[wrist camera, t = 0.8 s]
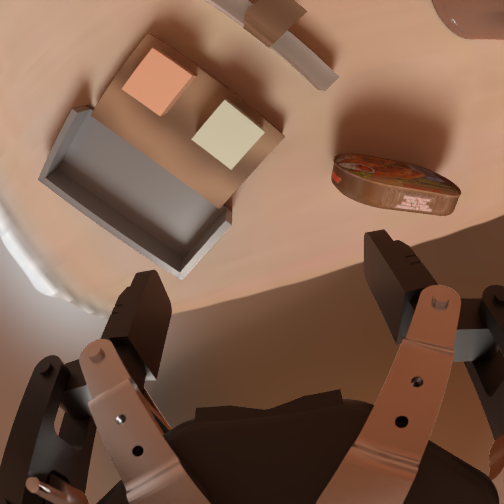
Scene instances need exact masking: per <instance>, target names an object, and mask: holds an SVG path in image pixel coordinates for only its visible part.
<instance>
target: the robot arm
mask: <svg viewBox="0 0 504 504" xmlns="http://www.w3.org/2000/svg"><path fill="white" fill-rule="evenodd" d="M432 1H433V4H434V7H435V9H436V11H437V13H438V15H439V17H440V18H441V20H442V21H443V22H444V23H445V25H446V26H447V27H448V28H449V29H450V30H451V31H453V32H454V33H455V34H457V35H458V36H460V37H463V38H466V39H496V40H504V0H432ZM364 272H365V278H366V281H367V283H368V285H369V287H370V289H371V292H372V294H373V296H374V298H375V300H376V302H377V304H378V306H379V308H380V310H381V312H382V314H383V317H384V319H385V321H386V323H387V325H388V327H389V330H390V332H391V334H392V336H393V339H394V341H395V343H396V344H400V343H401V345H400V348H399V350H398V353H397V355H396V358H395V360H394V363H393V365H392V367H391V370H390V372H389V374H388V377H387V379H386V381H385V384H384V386H383V388H382V390H381V392H380V394H379V397H378V399H377V401H376V403H375V405H373V404H370V403H366V402H363V401H359V400H352V399H342V395H341V392H340V389H339V390H334V391H329V392H324V393H318V394H313V395H308V396H303V397H301V398H298V399H295V400H293V401H291V402H288V403H285V404H282V405H280V406H277V407H274V408H271V409H267V410H262V409H252V408H245V407H237V406H219V407H204V408H196V413H195V418H193V419H191V420H188V421H186V422H183V423H181V424H179V425H177V426H176V427H174V428H173V429H172V428H171V427H170V426H169V424H168V423H167V422H166V420H165V419H164V417H163V415H162V414H161V412H160V411H159V410H158V408H157V406H156V405H155V403H154V402H153V400H152V399H151V397H150V395H149V394H148V392H147V391H146V389H145V388H144V383H145V380H157V376H158V371H159V366H160V361H161V357H162V353H163V348H164V344H165V340H166V335H167V331H168V327H169V323H170V318H171V314H172V308H171V303H170V300H169V297H168V295H167V293H166V291H165V288H164V286H163V284H162V282H161V279H160V277H159V275H158V273H157V271H156V270H150V271H144V272H139V273H136V275H135V277H134V279H133V281H132V283H131V286H130V287H127V288H126V289H125V290H124V291H123V292H122V293H121V294H120V296H119V297H118V300H117V302H116V304H115V307H114V308H113V311H112V315H110V318H109V320H108V322H107V325H106V327H105V329H104V332H103V334H102V337H101V339H99V340H96V341H93V342H91V343H90V344H88V345H87V346H86V347H85V349H84V350H83V351H82V352H81V354H80V358H79V359H78V360H75V361H72V362H69V363H66V364H64V363H63V362H62V361H61V359H60V358H59V357H57V356H55V355H52V356H48V357H45V358H44V359H42V360H41V361H40V362H39V363H38V364H37V365H36V367H35V369H34V371H33V374H32V376H31V378H30V381H29V383H28V386H27V388H26V390H25V393H24V396H23V399H22V401H21V404H20V406H19V409H18V412H17V415H16V417H15V420H14V423H13V426H12V429H11V432H10V435H9V439H8V442H7V445H6V448H5V452H4V455H3V459H2V462H1V466H0V504H89V502H88V499H87V497H86V495H85V490H86V483H87V476H88V470H89V465H90V459H91V454H92V448H93V443H94V438H95V433H96V429H98V431H99V434H100V436H101V438H102V440H103V443H104V445H105V447H106V449H107V451H108V454H109V456H110V458H111V460H112V462H113V464H114V466H115V468H116V470H117V472H118V474H119V476H120V478H121V480H120V481H119V482H118V483H117V484H116V485H115V486H114V487H113V488H112V489H111V490H110V491H109V492H108V493H107V494H106V495H105V496H104V497H103V498H102V499H101V500H100V501H99V502H98V503H97V504H504V356H503V355H504V287H503V286H500V285H492V286H489V287H487V288H486V289H485V290H484V292H483V295H482V298H481V299H462V298H460V297H459V295H458V294H457V292H455V291H454V290H453V289H451V288H449V287H447V286H443V285H438V284H437V282H436V281H435V280H434V278H433V277H432V276H431V274H430V273H429V271H428V270H427V269H426V267H425V266H424V265H423V263H421V261H420V259H419V258H418V257H417V256H416V255H415V253H414V252H413V250H412V249H411V248H410V246H408V245H406V244H405V243H403V242H401V241H400V240H396V241H393V240H392V239H391V237H390V236H389V235H388V233H387V232H386V231H385V230H378V231H372V232H367V233H365V235H364ZM499 348H500V349H499ZM500 350H501V351H500ZM501 352H502V353H501ZM461 361H462V362H464V364H465V366H466V368H467V370H468V373H469V375H470V377H471V380H472V382H473V384H474V387H475V389H476V391H477V394H478V396H479V399H480V401H481V404H482V406H483V409H484V412H485V414H486V417H487V420H488V422H489V425H490V428H491V431H492V434H493V437H494V440H495V442H494V443H493V444H492V446H491V449H490V452H489V468H490V470H489V475H488V476H487V475H486V474H484V473H483V472H481V471H480V470H478V469H476V468H474V467H472V466H471V465H469V464H468V463H466V462H464V461H463V460H461V459H459V458H458V457H456V456H454V455H453V454H451V453H449V452H448V451H446V450H444V449H443V448H441V447H440V446H438V445H436V444H435V443H433V442H432V441H430V440H429V438H430V435H431V432H432V430H433V427H434V424H435V421H436V418H437V415H438V412H439V409H440V405H441V402H442V399H443V396H444V392H445V389H446V385H447V381H448V377H449V374H450V369H451V366H452V362H461ZM59 407H61V408H62V409H63V410H64V411H65V414H64V417H63V421H62V424H61V428H60V432H59V436H58V435H57V434H56V432H55V429H54V421H55V418H56V414H57V411H58V408H59Z"/></svg>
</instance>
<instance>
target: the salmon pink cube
mask: <svg viewBox="0 0 504 504" xmlns="http://www.w3.org/2000/svg"><path fill="white" fill-rule="evenodd" d="M196 77H197V76H196V75H195V74H193V73H192V72H190V71H189V70H188V69H186V68H185V67H183V66H182V65H181V64H179V63H178V62H176V61H175V60H173V59H172V58H171V57H169V56H168V55H166V54H165V53H163V52H162V51H160V50H157V49H154V48H152V49H151V50H150V51H149V53H148V54H147V55H146V56H145V58H144V59H143V60H142V62H141V63H140V64H139V66H138V67H137V68H136V70H135V71H134V72H133V74H132V75H131V76H130V78H129V79H128V81H127V82H126V83H125V85H124V86H123V88H122V90H124V91H125V92H126V93H128V94H129V95H131V96H132V97H134V98H135V99H136V100H138V101H139V102H141V103H142V104H143V105H145V106H146V107H148V108H149V109H150V110H152V111H153V112H155V113H156V114H157V115H159V116H162V115H164V114H166V113H168V111H169V110H170V109H171V108H172V106H173V105H174V104H175V102H176V101H177V100H178V99H179V97H180V96H181V95H182V94H183V92H184V91H185V90H186V89H187V88H188V86H189V85H190V84H191V83H192V82H193V80H194V79H195V78H196Z"/></svg>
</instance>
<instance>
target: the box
mask: <svg viewBox="0 0 504 504" xmlns="http://www.w3.org/2000/svg"><path fill="white" fill-rule="evenodd" d="M92 112H93V109H92V108H90V107H89V106H88V105H86V106H82V107H78V108H74V109H72V110H71V112H70V114H69V116H68V117H67V119H66V121H65V123H64V125H63V127H62V129H61V131H60V133H59V135H58V137H57V139H56V141H55V143H54V145H53V147H52V149H51V151H50V153H49V155H48V158H47V160H46V162H45V164H44V167H43V169H42V171H41V173H40V176H39V178H38V180H39V181H40V182H42V183H43V184H44V185H46V186H47V187H48V188H50V189H51V190H52V191H53V192H55V193H56V194H57V195H59V196H60V197H61V198H63V199H64V200H65V201H67V202H68V203H69V204H71V205H72V206H74V207H75V208H76V209H78V210H79V211H80V212H82V213H83V214H85V215H86V216H87V217H89V218H90V219H91V220H93V221H94V222H96V223H97V224H98V225H100V226H101V227H103V228H104V229H106V230H107V231H108V232H110V233H111V234H113V235H114V236H116V237H117V238H118V239H120V240H121V241H123V242H124V243H126V244H127V245H129V246H130V247H132V248H133V249H134V250H136V251H137V252H139V253H140V254H142V255H143V256H145V257H146V258H148V259H149V260H151V261H152V262H154V263H155V264H157V265H158V266H160V267H162V268H163V269H165V270H166V271H168V272H169V273H171V274H172V275H174V276H175V277H177V278H178V279H180V280H183V279H184V278H185V276H186V275H187V274H188V273H189V272H190V271H191V270H192V269H193V267H194V266H195V265H196V264H197V263H198V262H199V261H200V260H201V258H202V257H203V256H204V255H205V254H206V253H207V252H208V251H209V250H210V248H211V247H212V246H213V245H214V244H215V243H216V242H217V241H218V240H219V238H220V237H221V236H222V235H223V234H224V233H225V232H226V231H227V230H228V229H229V227H230V226H231V225H232V210H230V209H229V208H228V207H226V206H225V205H224V204H223V206H222V207H221V208H220V209H218V208H217V207H216V206H214V205H213V204H212V203H210V202H209V201H208V200H206V199H205V198H203V197H202V196H201V195H199V194H198V193H197V192H195V191H194V190H193V189H191V188H190V187H189V186H187V185H186V184H184V183H183V182H182V181H180V180H179V179H178V178H176V177H175V176H174V175H172V174H171V173H169V172H168V171H167V170H165V169H164V168H163V167H161V166H160V165H158V164H157V163H156V162H154V161H153V160H152V159H150V158H149V157H147V156H146V155H145V154H143V153H142V152H141V151H139V150H138V149H136V148H135V147H134V146H132V145H131V144H130V143H128V142H127V141H125V140H124V139H123V138H121V137H120V136H118V135H117V134H116V133H114V132H113V131H111V130H110V129H109V128H107V127H106V126H104V125H103V124H102V123H100V122H99V121H97V120H96V119H95V118H93V117H92V116H90V115H91V113H92Z"/></svg>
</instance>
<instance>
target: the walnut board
mask: <svg viewBox="0 0 504 504" xmlns="http://www.w3.org/2000/svg"><path fill="white" fill-rule="evenodd" d="M152 48H154V49H157V50H160V51H162V52H163V53H165V54H166V55H168V56H169V57H171V58H172V59H173V60H175V61H176V62H178V63H179V64H181V65H182V66H183V67H185V68H186V69H188V70H189V71H190V72H192V73H193V74H195V75H196V76H197V77H196V78H195V79H194V80H193V82H192V83H191V84H190V85H189V86H188V88H187V89H186V90H185V91H184V92H183V94H182V95H181V96H180V97H179V99H178V100H177V101H176V102H175V104H174V105H173V106H172V108H171V109H170V110H169V111H168V113H166V114H164V115H162V116H159V115H157V114H156V113H155V112H153V111H152V110H150V109H149V108H148V107H146V106H145V105H143V104H142V103H141V102H139V101H138V100H136V99H135V98H134V97H132V96H131V95H129V94H128V93H126V92H125V91H124V90H122V88H123V86H124V85H125V83H126V82H127V81H128V79H129V78H130V76H131V75H132V74H133V72H134V71H135V70H136V68H137V67H138V66H139V64H140V63H141V62H142V60H143V59H144V58H145V56H146V55H147V54H148V53H149V51H150V50H151V49H152ZM225 99H228V100H229V101H230V102H232V103H233V104H234V105H235V106H237V107H238V108H239V109H240V110H242V111H243V112H244V113H245V114H247V115H248V116H249V117H250V118H252V119H253V120H254V121H255V122H256V123H258V124H259V125H260V126H261V127H262V128H263V130H264V131H265V133H264V134H263V135H262V136H261V137H260V138H259V140H258V141H257V142H256V143H255V144H254V145H253V146H252V147H251V148H250V149H249V151H248V152H247V153H246V154H245V155H244V156H243V157H242V158H241V160H240V161H239V162H238V163H237V164H236V165H235V166H234V167H233V169H232V170H231V169H229V168H228V167H227V166H225V165H224V164H223V163H222V162H220V161H219V160H218V159H216V158H215V157H214V156H213V155H211V154H210V153H209V152H207V151H206V150H205V149H203V148H202V147H201V146H199V145H198V144H197V143H195V142H194V141H193V140H191V139H192V138H193V137H194V135H195V134H196V133H197V132H198V130H199V129H200V128H201V127H202V126H203V124H204V123H205V122H206V121H207V119H208V118H209V117H210V116H211V115H212V114H213V112H214V111H215V110H216V109H217V108H218V107H219V105H220V104H221V103H222V102H223V101H224V100H225ZM90 116H92V117H93V118H95V119H96V120H97V121H99V122H100V123H102V124H103V125H104V126H106V127H107V128H109V129H110V130H111V131H113V132H114V133H116V134H117V135H118V136H120V137H121V138H123V139H124V140H125V141H127V142H128V143H130V144H131V145H132V146H134V147H135V148H136V149H138V150H139V151H141V152H142V153H143V154H145V155H146V156H147V157H149V158H150V159H152V160H153V161H154V162H156V163H157V164H158V165H160V166H161V167H163V168H164V169H165V170H167V171H168V172H169V173H171V174H172V175H174V176H175V177H176V178H178V179H179V180H180V181H182V182H183V183H184V184H186V185H187V186H189V187H190V188H191V189H193V190H194V191H195V192H197V193H198V194H199V195H201V196H202V197H203V198H205V199H206V200H208V201H209V202H210V203H212V204H213V205H214V206H216V207H217V208H218V209H220V208H221V207H222V206H223V204H224V203H225V202H226V201H227V200H228V199H229V198H230V197H231V195H232V194H233V193H234V192H235V191H236V190H237V189H238V188H239V186H240V185H241V184H242V183H243V182H244V181H245V180H246V179H247V178H248V176H249V175H250V174H251V173H252V172H253V171H254V170H255V169H256V168H257V167H258V165H259V164H260V163H261V162H262V161H263V160H264V159H265V158H266V157H267V156H268V155H269V154H270V152H271V151H272V150H273V149H274V148H275V147H276V146H277V145H278V144H279V143H280V142H281V141H282V140H283V139H284V138H285V136H284V135H283V134H282V133H281V132H280V131H279V130H278V129H277V128H275V127H274V126H273V125H272V124H271V123H269V122H268V121H267V120H266V119H265V118H264V117H262V116H261V115H260V114H259V113H258V112H256V111H255V110H254V109H253V108H251V107H250V106H249V105H248V104H247V103H245V102H244V101H243V100H242V99H240V98H239V97H238V96H237V95H235V94H234V93H233V92H231V91H230V90H229V89H228V88H226V87H225V86H224V85H222V84H221V83H220V82H218V81H217V80H216V79H215V78H213V77H212V76H211V75H209V74H208V73H206V72H205V71H204V70H202V69H201V68H200V67H198V66H197V65H195V64H194V63H193V62H191V61H190V60H188V59H187V58H186V57H184V56H183V55H181V54H180V53H178V52H177V51H175V50H174V49H173V48H171V47H170V46H168V45H167V44H165V43H164V42H162V41H161V40H159V39H158V38H156V37H154V36H153V35H151V34H149V33H148V34H147V35H146V36H145V37H144V39H143V40H142V41H141V42H140V44H139V45H138V46H137V48H136V49H135V50H134V51H133V53H132V54H131V55H130V57H129V58H128V59H127V61H126V62H125V64H124V65H123V66H122V68H121V69H120V71H119V72H118V73H117V75H116V76H115V78H114V79H113V81H112V82H111V84H110V85H109V87H108V88H107V90H106V91H105V93H104V94H103V96H102V97H101V99H100V100H99V102H98V104H97V105H96V107H95V108H94V110H93V112H92V113H91V115H90Z"/></svg>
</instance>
